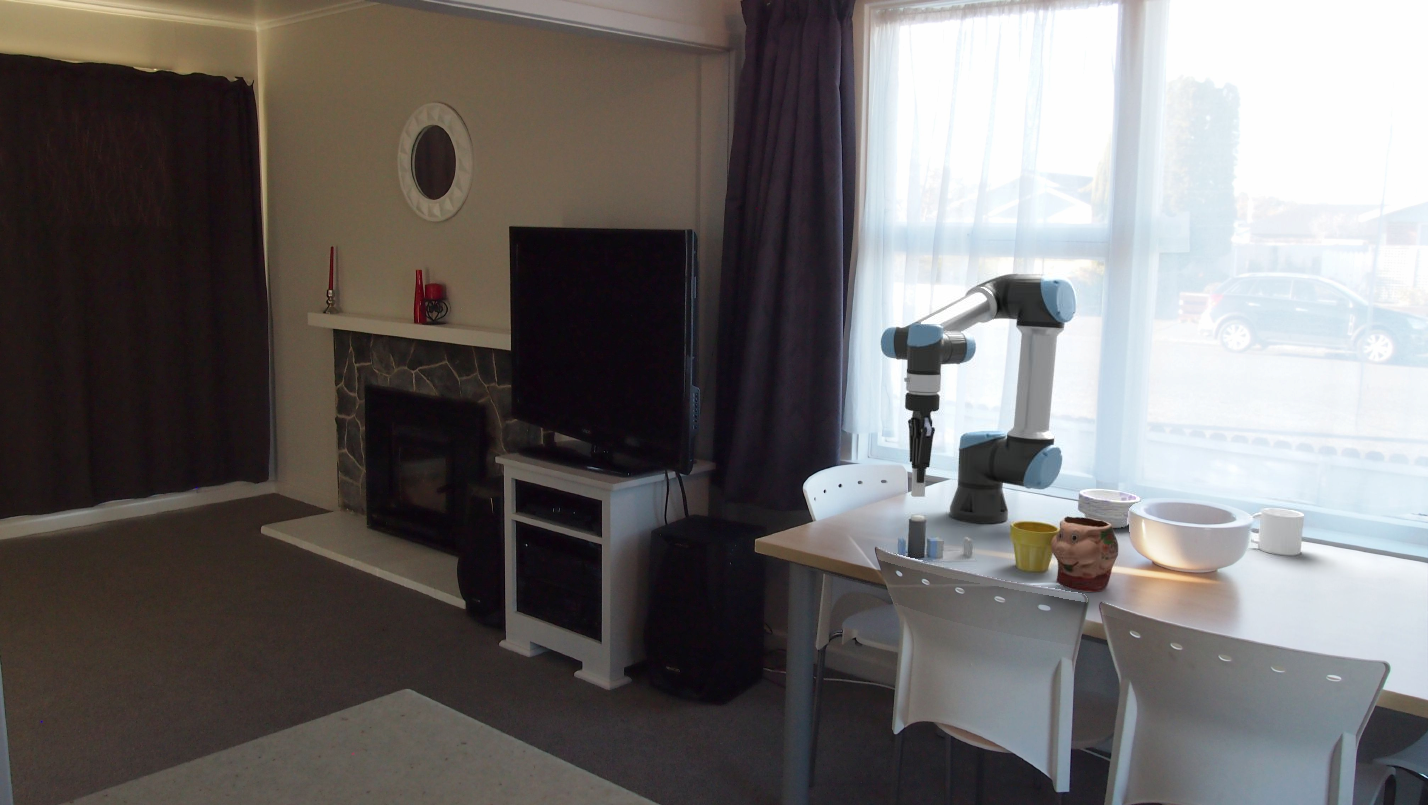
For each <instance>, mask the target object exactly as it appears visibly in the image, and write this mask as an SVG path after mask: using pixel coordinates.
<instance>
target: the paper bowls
mask: <svg viewBox="0 0 1428 805" xmlns="http://www.w3.org/2000/svg"><path fill="white" fill-rule="evenodd" d="M1077 500H1078V501H1077V510H1078V511H1079V512H1080V513H1083V514H1084V518H1092V519H1096V520H1101V521H1105V522H1108V523H1110V524H1111V525H1112V527H1113V529H1121V527H1123V528H1126V527H1127V518H1128V511H1129V508H1130V507H1131V506H1132V505H1133V504H1135V503H1138V502H1141V501H1142V500H1141V498H1140V497H1139V496H1138V495H1135V494H1132V493H1129V492H1125V491H1120V490H1113V489H1104V488H1103V489H1102V488H1090V489H1089V488H1088V489H1083V490H1080V491H1079V492H1078V499H1077ZM1125 526H1126V527H1125Z"/></svg>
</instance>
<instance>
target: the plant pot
mask: <svg viewBox="0 0 1428 805" xmlns="http://www.w3.org/2000/svg"><path fill="white" fill-rule="evenodd" d="M1059 530H1060V527H1058V526H1056V525H1053V524H1051V523H1047V522H1042V521H1035V520H1020V521H1013V522H1012V523H1011V524H1010V530H1009V539H1010V541H1012V544H1013V552H1014V559H1015V566H1016V568H1017V569H1020V570H1023V571H1027V572H1034V573H1035V572H1037V573H1039V572H1047V571H1048V570H1049V567H1050V564H1051V561H1052V558H1053V553H1052V550H1051V542H1052V539H1053V538H1054V537H1055V536H1056V535H1057V534H1058V532H1059Z"/></svg>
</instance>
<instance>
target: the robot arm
mask: <svg viewBox="0 0 1428 805" xmlns="http://www.w3.org/2000/svg"><path fill="white" fill-rule="evenodd" d="M1076 310H1077V295H1076V291H1075V288H1074V286H1073V284H1072V282H1071V281H1070V279H1069V278H1067V277H1066V276H1063V275H1059V274H1050V273H1046V274H1045V273H1044V274H1043V273H1042V274H1040V273H1039V274H1038V273H1037V274H1036V273H1035V274H1033V273H1032V274H1030V273H1027V274H1026V273H1025V274H1024V273H1010V274H1003V275H1001V276H997V277H995V278H991V279H988V280H986V281H984V282H982V283H980V284H977V285H976V286H974V287H971V288H969V290H967V292H966V293H965V295H964V296H963V297H960V298H959V299H957V300H955V301H952V302H951V303H949V304H947V305H945V306H943V307H941V308H939V309H938V310H936V311H935V310H934V312H931V313H930V314H928V315H926V316H924V317H922V318H920V319H918V320H916V321H915V322H913V323H911V324H909V325H906V326H904V327H900V326H895V327H894V326H891V327H888V328H886V329H885V330H884V331H883V333H882V335H881V338H880V348H881V351H882V354H883V355H884V356H886V357H887V358H891V359H896V360H897V361H899V360H902V361H903V360H904V361H905V360H906V361H907V362H906V364H907V365H906V377H903V378H904V379H903V381H904V382H905V390H906V391H907V392H906V394H905V398H904V399H905V401H904V402H905V404H904V407H905V410H907V411H911V412H912V414H911V415H912V416H911V417H910V419H908V421H907V424H908V437H909V438H908V441H909V443H908V444H909V462H910V463H911V470H912V471H911V472H912V474H911V493H910V495H911V497H913V498H919V497H922V498H923V497H924V498H925V497H926V476H927V468H930V466H931V457H932V448H933V442H934V441H933V440H934V436H935V431H936V428H935V427H934V426H933V419H932V416H931V415H932V414H931V413H932V412H938V411H939V410H940V398H941V395H940V394H939V392H941V386H942V385H941V384H942V383H941V382H942V381H941V380H942V365H955V364H956V365H960V364H964V363H967V362H969V361H971V360H972V359H973V358H974V355H975V353H976V351H977V350H976V349H977V344H976V340H975V338H974V336H972V334H970V333H969V332H968V331H966V330H968V329H969V328H971V327H972V326H975V325H977V324H978V323H983V324H985V323H988V322H991V321H992V320H999V319H1001V320H1003V319H1006V320H1007V319H1008V320H1016V325H1015V326H1016V329H1017V330H1019V332H1020V334H1021V339H1020V348H1019V349H1020V350H1019V362H1018V363H1019V364H1018V375H1017V386H1016V396H1015V409H1014V417H1013V419H1014V420H1013V427H1012V428H1011V429H1010V430H1009V431H1008V432H1007V433H1006V432H1005V431H1003V430H981V431H980V430H979V431H971V432H965V433H964V434H962V435H961V436H960V441H959V447H958V469H957V472H958V473H957V486H956V490H955V492H954V495H953V497H952V500H951V503H950V505H949V516H950V517H951V518H953V519H955V520H959V521H963V522H968V523H977V524H998V523H999V524H1000V523H1004V522H1007V520H1008V519H1009V508H1008V506H1007V502H1006V499H1005V498H1006V497H1005V495H1004V491H1003V490H1004V489H1003V486H1004V484H1007V485H1012V486H1017V487H1018V486H1019V487H1023V488H1025V489H1028V490H1030V489H1033V490H1045V489H1048V488H1049V487H1050V486H1052V484H1054V482H1055V481H1056V480H1057V478H1058V476H1059V474H1060V472H1061V468H1062V465H1063V454H1062V450H1061V448H1060V447H1059V446H1057V445H1055V436H1054V434H1052V433H1051V431H1050V423H1051V422H1050V421H1051V411H1052V409H1051V408H1052V400H1053V399H1052V398H1053V397H1052V396H1053V387H1054V376H1055V374H1054V373H1055V365H1056V355H1057V341H1058V336H1059V335H1060V334H1061V333H1062V332H1063V331H1065V323H1068V322H1071V321H1072V319H1073V318H1074V315H1075V314H1076Z"/></svg>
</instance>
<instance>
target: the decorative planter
mask: <svg viewBox="0 0 1428 805" xmlns="http://www.w3.org/2000/svg"><path fill="white" fill-rule="evenodd" d="M1051 550H1052V553H1053V554H1052V556H1054V557H1055V559H1056V561H1057V575H1056V582H1057V584H1058V585H1060V586H1062V587H1065V588H1068V589H1069V590H1070V589H1071V590H1074V591H1080V592H1086V593H1097V592H1101V591H1104V590H1105V589H1107V586H1109V585H1108V584H1109V582H1110V579H1111V575H1112V570H1113V567H1114V565H1115V562H1116V561H1117V558H1118V555H1119V542H1118V539H1117V537H1116V534H1115V532H1114V528H1113V527H1112V525H1111V524H1110V523H1108V522H1105V521H1101V520H1096V519H1092V518H1086V517H1081V516H1066V517H1064V518H1063V519H1062V520H1060V522H1059V532H1058V534H1057V535H1056V536H1055V537H1054V538H1053V539H1052V542H1051Z"/></svg>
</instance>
